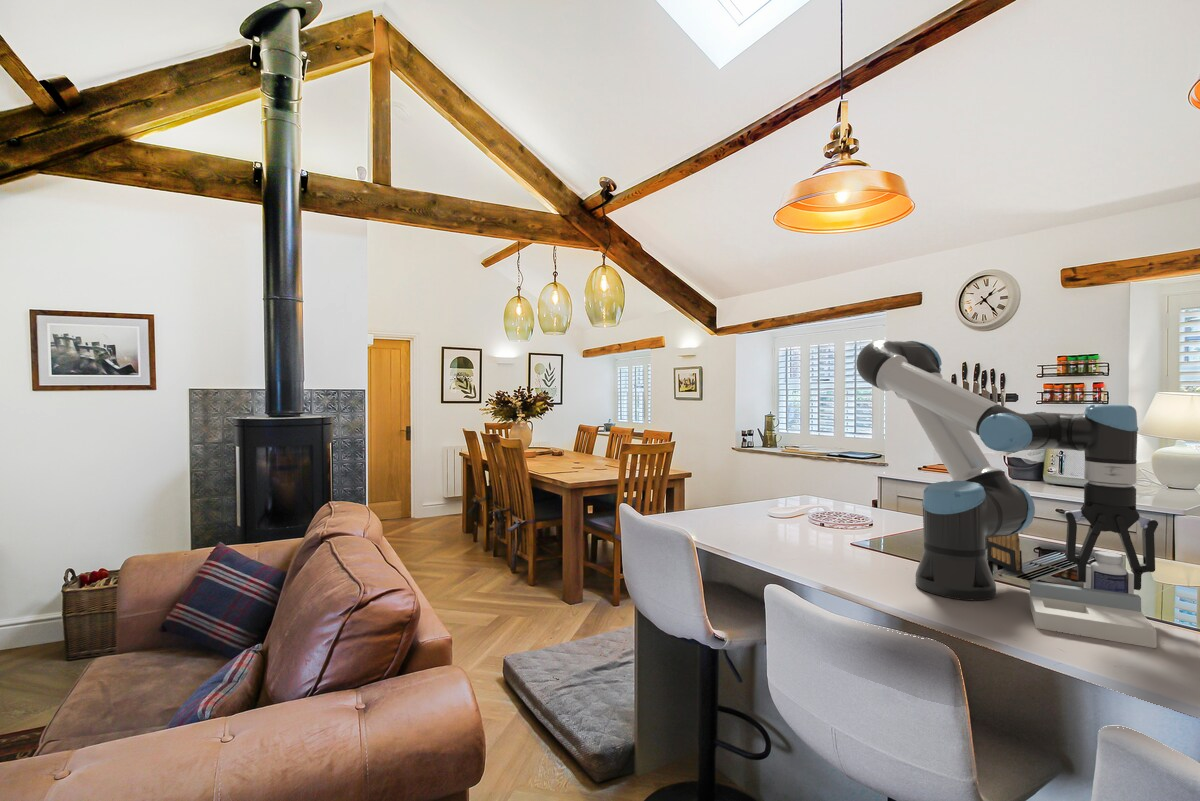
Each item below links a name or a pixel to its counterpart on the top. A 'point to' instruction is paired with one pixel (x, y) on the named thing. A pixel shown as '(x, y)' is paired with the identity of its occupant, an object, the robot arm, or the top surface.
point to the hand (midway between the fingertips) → (1107, 601)
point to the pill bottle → (1108, 572)
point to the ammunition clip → (1005, 552)
